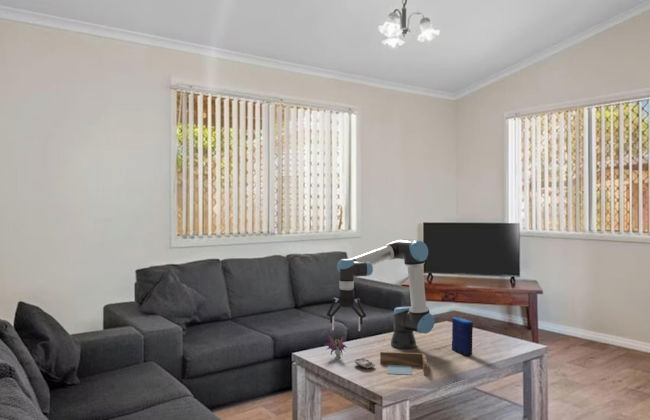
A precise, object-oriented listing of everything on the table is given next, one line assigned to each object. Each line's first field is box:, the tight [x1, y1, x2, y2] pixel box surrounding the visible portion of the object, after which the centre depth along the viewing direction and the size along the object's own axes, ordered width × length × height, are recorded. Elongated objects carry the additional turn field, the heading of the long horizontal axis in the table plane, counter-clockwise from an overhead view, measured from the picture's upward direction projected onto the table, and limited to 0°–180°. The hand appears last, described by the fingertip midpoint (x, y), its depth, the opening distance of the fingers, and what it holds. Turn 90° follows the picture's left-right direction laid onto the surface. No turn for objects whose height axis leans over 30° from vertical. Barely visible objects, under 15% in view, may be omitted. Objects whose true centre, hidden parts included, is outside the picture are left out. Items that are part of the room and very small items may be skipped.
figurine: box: [323, 331, 348, 360], centre depth 269 cm, size 14×8×15 cm, turn 74°
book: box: [451, 316, 474, 356], centre depth 279 cm, size 14×5×20 cm, turn 22°
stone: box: [354, 357, 376, 369], centre depth 254 cm, size 12×9×3 cm
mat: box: [387, 364, 413, 376], centre depth 248 cm, size 14×12×1 cm
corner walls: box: [379, 351, 428, 377], centre depth 250 cm, size 18×24×6 cm
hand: (346, 330), depth 251 cm, fingers open, 13 cm apart
